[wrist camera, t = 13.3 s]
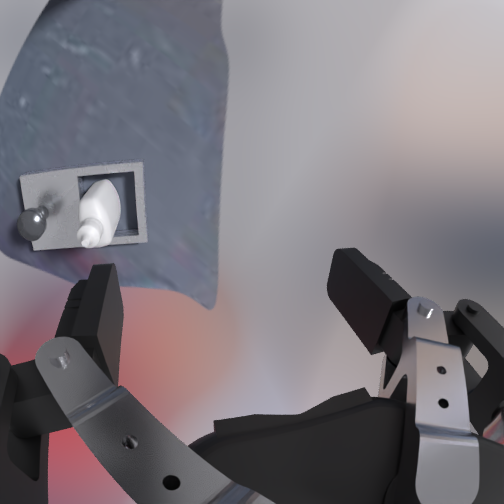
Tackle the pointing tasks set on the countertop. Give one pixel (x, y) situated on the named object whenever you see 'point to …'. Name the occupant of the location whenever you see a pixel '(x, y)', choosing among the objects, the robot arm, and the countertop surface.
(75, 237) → the bolt plate
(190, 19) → the countertop surface
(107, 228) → the eye dropper bottle
